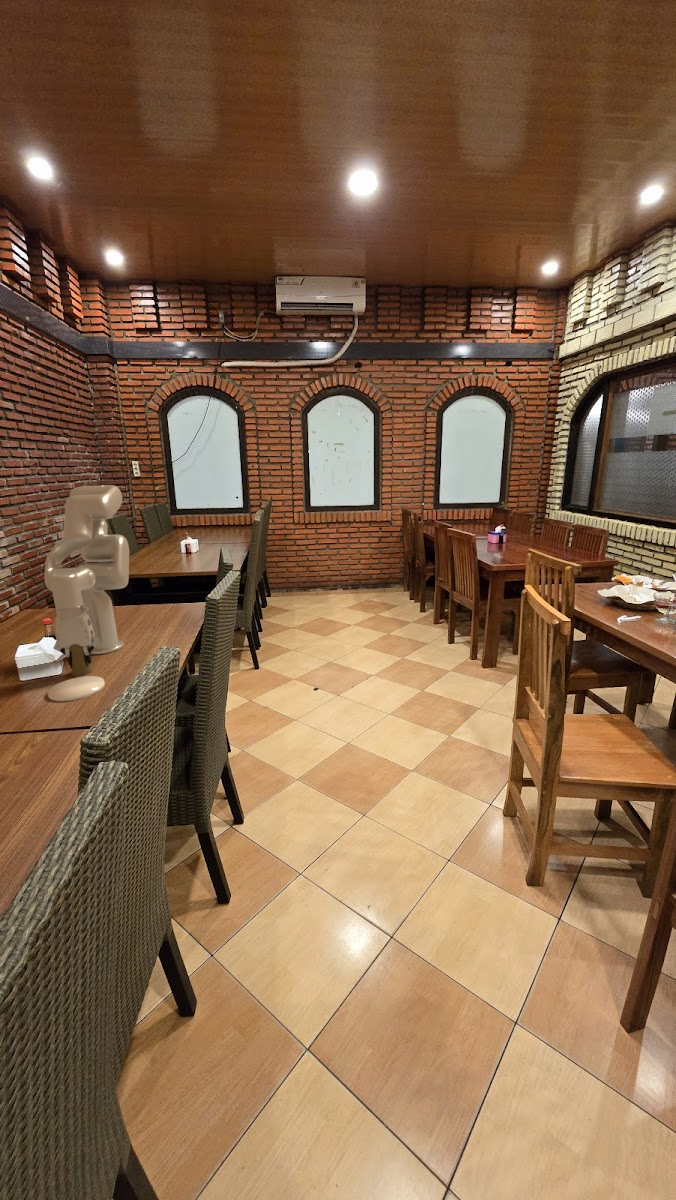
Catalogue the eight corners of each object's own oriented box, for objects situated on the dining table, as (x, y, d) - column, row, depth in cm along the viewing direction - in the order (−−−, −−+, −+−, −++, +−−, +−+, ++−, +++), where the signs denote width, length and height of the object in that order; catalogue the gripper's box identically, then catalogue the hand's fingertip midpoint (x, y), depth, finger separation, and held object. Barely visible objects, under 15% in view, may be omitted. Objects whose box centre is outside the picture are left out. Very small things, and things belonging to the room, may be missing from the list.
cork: (84, 676, 152) (78, 643, 149) (67, 675, 153) (61, 643, 150) (97, 668, 158) (91, 637, 155) (81, 668, 159) (75, 636, 156)
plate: (59, 682, 149) (59, 679, 148) (110, 676, 151) (110, 673, 151) (39, 704, 134) (38, 700, 134) (96, 697, 137) (95, 694, 136)
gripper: (102, 606, 155) (111, 659, 160) (46, 611, 152) (57, 664, 157) (95, 612, 148) (104, 668, 153) (36, 617, 145) (48, 673, 150)
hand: (80, 665), depth 155 cm, fingers closed on cork, 3 cm apart
